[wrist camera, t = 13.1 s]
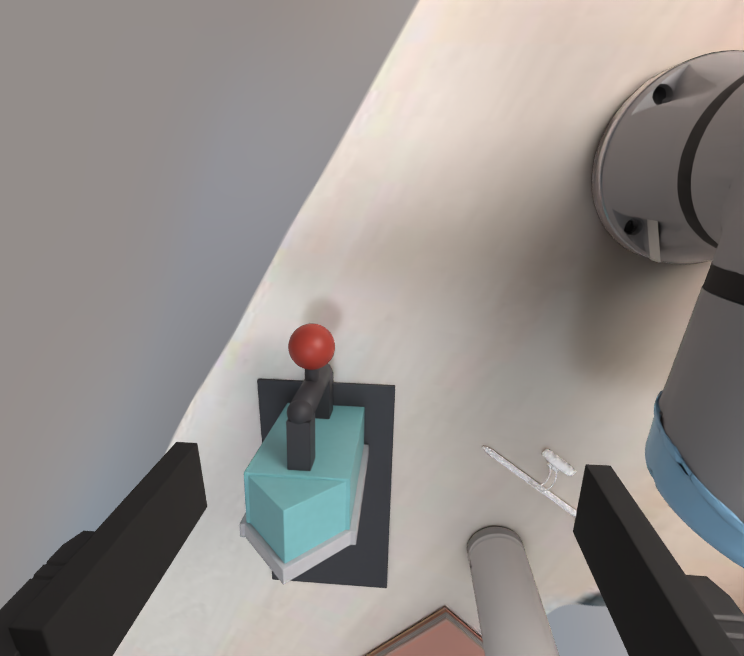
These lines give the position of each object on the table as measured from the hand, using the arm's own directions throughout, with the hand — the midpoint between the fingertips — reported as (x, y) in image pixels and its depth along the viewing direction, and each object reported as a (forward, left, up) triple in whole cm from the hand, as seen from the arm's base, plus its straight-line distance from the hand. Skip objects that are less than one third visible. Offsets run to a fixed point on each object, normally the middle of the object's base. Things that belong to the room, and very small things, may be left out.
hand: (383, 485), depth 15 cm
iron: (+7, +17, -18) cm, 25 cm away
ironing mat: (+7, +23, -27) cm, 36 cm away
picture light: (-16, +19, -27) cm, 37 cm away
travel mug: (-12, +30, -27) cm, 42 cm away
